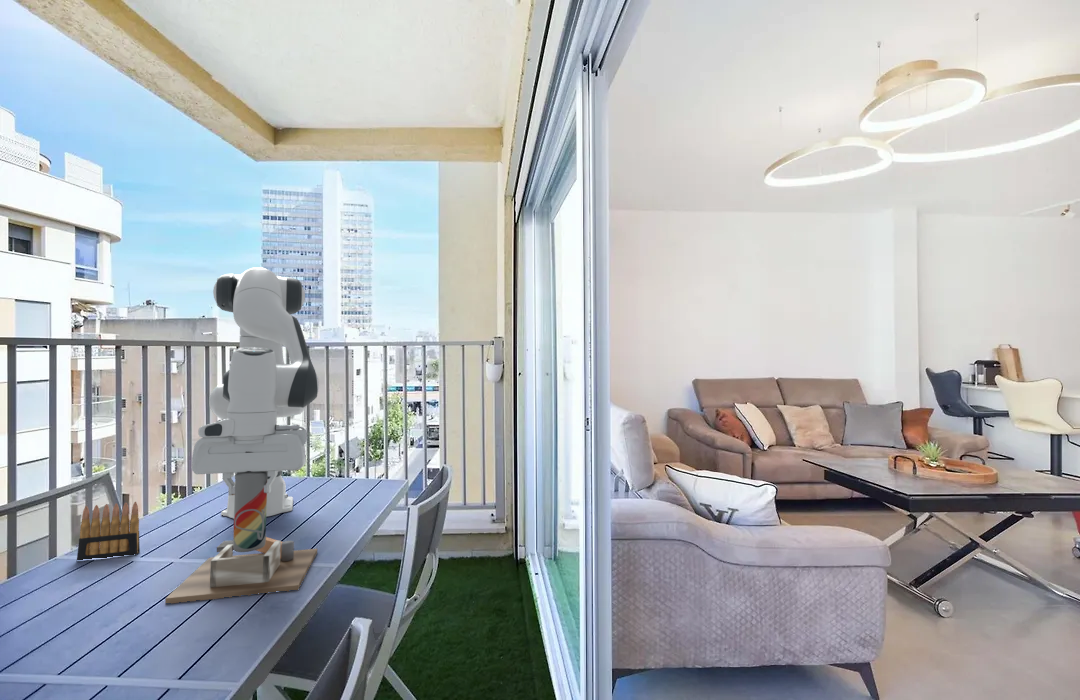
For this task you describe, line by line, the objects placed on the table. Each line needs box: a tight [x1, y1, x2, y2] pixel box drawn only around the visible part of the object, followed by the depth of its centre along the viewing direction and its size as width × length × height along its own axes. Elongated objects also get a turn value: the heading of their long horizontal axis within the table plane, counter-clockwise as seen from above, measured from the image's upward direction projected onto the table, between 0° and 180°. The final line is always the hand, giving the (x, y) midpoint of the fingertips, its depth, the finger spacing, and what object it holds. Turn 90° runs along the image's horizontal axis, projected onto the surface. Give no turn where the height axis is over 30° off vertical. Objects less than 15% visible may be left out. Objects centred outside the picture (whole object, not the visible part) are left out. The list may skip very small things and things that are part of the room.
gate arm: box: [255, 536, 295, 561], centre depth 109 cm, size 13×2×4 cm, turn 60°
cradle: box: [164, 539, 318, 604], centre depth 101 cm, size 20×22×6 cm
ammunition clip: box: [76, 501, 141, 561], centre depth 110 cm, size 11×2×12 cm, turn 113°
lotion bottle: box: [232, 452, 267, 553], centre depth 100 cm, size 6×6×20 cm
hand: (250, 493), depth 99 cm, fingers closed on lotion bottle, 4 cm apart
